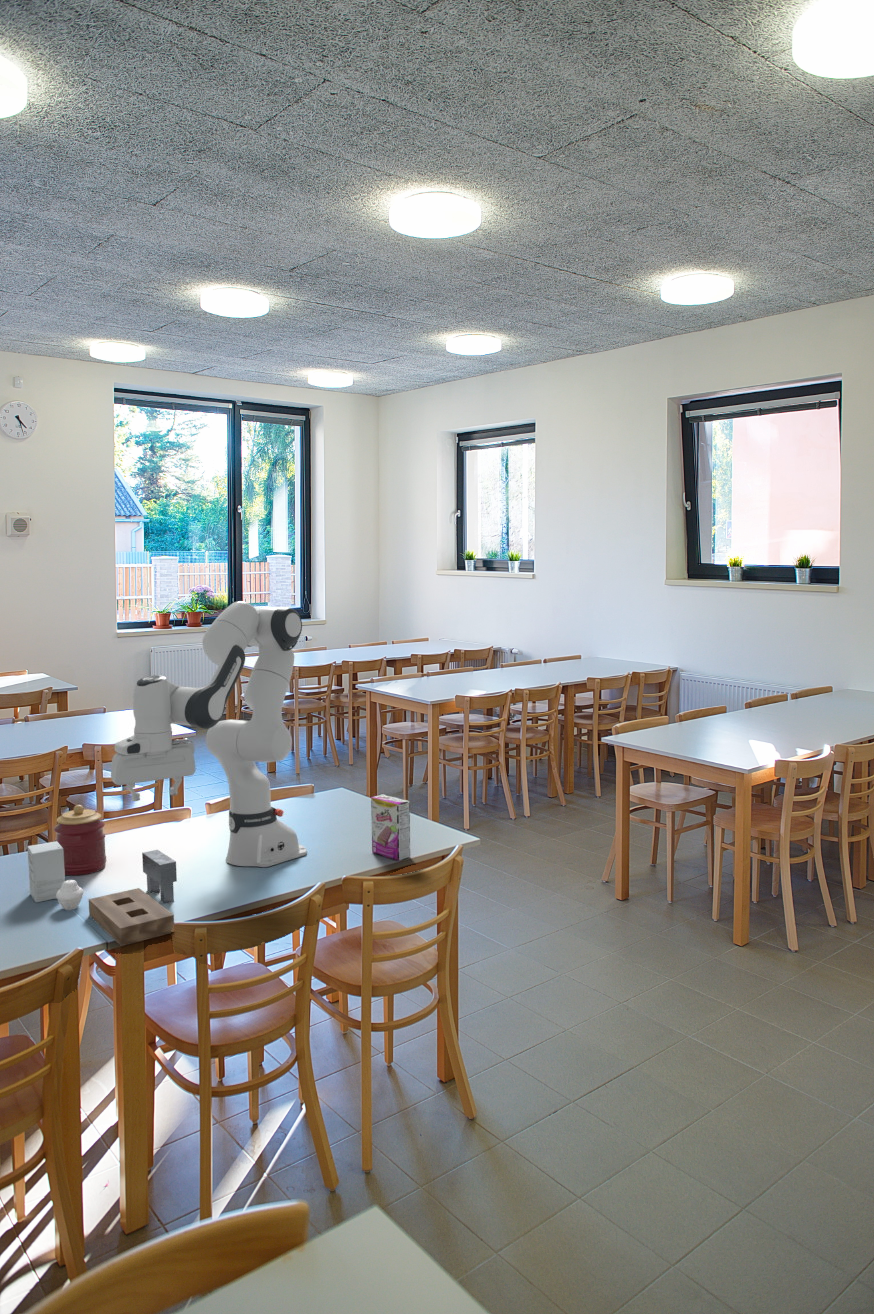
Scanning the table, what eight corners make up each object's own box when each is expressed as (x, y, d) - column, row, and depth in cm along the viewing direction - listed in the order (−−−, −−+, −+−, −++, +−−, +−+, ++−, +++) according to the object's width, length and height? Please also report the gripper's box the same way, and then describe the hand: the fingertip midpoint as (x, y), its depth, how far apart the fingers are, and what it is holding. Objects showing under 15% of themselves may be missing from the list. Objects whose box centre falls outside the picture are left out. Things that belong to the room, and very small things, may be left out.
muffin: (78, 901, 228) (76, 873, 227) (88, 908, 223) (87, 879, 223) (52, 908, 224) (51, 879, 223) (62, 914, 219) (61, 886, 218)
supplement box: (60, 888, 237) (58, 840, 235) (66, 897, 231) (64, 848, 229) (29, 894, 233) (26, 845, 231) (34, 903, 227) (31, 853, 225)
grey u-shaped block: (159, 887, 237) (157, 849, 236) (177, 901, 227) (176, 861, 226) (143, 891, 234) (142, 852, 233) (161, 905, 225) (160, 865, 224)
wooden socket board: (139, 904, 226) (138, 888, 225) (174, 932, 208) (173, 915, 208) (89, 915, 218) (88, 899, 218) (121, 946, 201) (120, 928, 201)
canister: (44, 873, 249) (41, 808, 247) (79, 858, 261) (76, 797, 259) (83, 879, 244) (79, 813, 242) (117, 863, 256) (114, 801, 254)
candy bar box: (370, 853, 263) (370, 797, 261) (383, 849, 267) (382, 793, 265) (398, 862, 256) (397, 803, 254) (411, 857, 259) (410, 800, 257)
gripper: (189, 736, 236) (190, 789, 237) (107, 745, 224) (109, 801, 225) (198, 739, 231) (200, 794, 232) (115, 749, 219) (117, 806, 220)
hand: (155, 797), depth 228 cm, fingers open, 8 cm apart
